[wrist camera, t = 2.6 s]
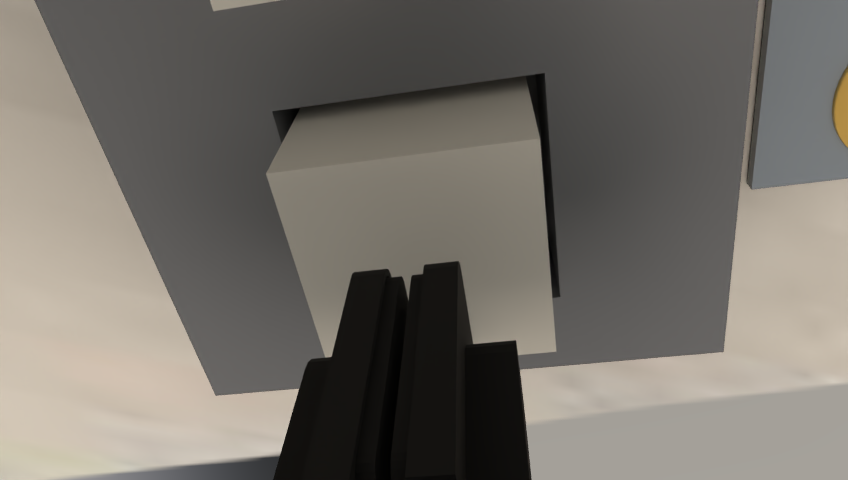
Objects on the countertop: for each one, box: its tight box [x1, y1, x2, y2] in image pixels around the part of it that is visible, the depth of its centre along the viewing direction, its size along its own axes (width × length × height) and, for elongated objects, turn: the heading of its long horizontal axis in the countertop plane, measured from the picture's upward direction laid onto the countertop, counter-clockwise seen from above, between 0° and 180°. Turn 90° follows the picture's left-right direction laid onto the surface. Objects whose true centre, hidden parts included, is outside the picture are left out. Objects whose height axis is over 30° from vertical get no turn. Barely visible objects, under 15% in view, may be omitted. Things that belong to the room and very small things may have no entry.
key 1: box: [266, 76, 556, 358], centre depth 13 cm, size 4×4×3 cm
